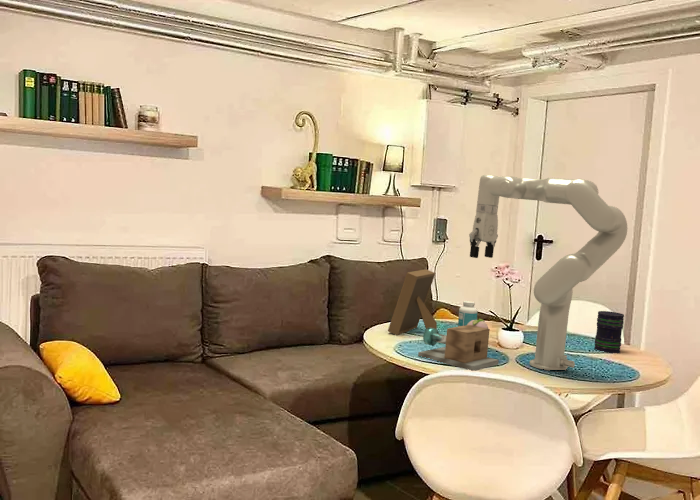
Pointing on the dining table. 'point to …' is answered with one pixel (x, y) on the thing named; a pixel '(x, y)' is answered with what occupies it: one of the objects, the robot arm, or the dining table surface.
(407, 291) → the photo frame
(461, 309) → the pill bottle
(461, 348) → the bearing block
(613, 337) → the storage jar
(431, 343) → the shaft
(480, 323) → the decorative fruit
